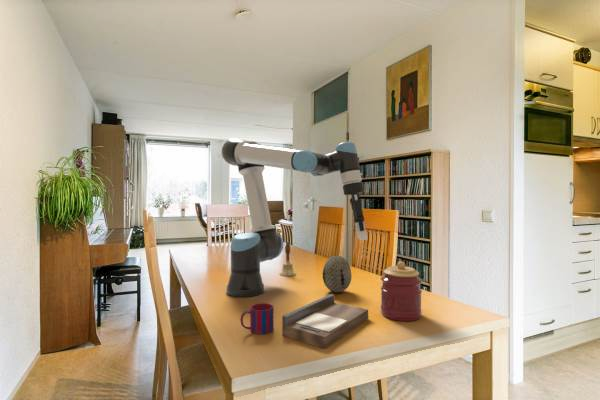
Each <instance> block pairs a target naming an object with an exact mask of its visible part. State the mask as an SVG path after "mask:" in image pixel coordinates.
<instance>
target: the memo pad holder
mask: <svg viewBox="0 0 600 400" xmlns="http://www.w3.org/2000/svg"><path fill="white" fill-rule="evenodd" d="M281 318H282V319H281V320H282V321H281V322H282V324H281V325H282V327H281V331H282V337H283V336H284V337H287V338H290V339H293V340H296V341H298V342H303V343H306V344H309V345H311V346H315V347H318V348H322V349H327V348H328V347H329V346H331V345H333V344H334V343H335V342H337V341H338V340H340V339H341V338H342V337H344V336H345V335H347V334H349V333H350V332H351V331H352V330H354V329H356V328H357V327H358V326H360V325H361V324H363V323H364V322H366V321H367V320H369V309H367V308H363V307H359V306H353V305H349V304H345V303H340V302H335V294H333V293H330V294H328V295H327V294H326V296H323V297H320V298H319V299H317V300H314V301H312V302H310V303H307V304H306V305H305V304H304V305H303V306H301V307H298V308H297V309H294V310H292V311H290V312H288V313H285V314H283V315H282V317H281Z"/></svg>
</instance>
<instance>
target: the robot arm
mask: <svg viewBox="0 0 600 400" xmlns="http://www.w3.org/2000/svg"><path fill="white" fill-rule="evenodd" d="M221 156H222V159H223V160H224V161H225V162H226V163H227V164H229V165H232V166H235V167H236V166H237V169H238V173H239V174H240V175H241V176H242V177H243V182H244V189H245V193H246V194H245V195H246V200H247V205H248V210H249V216H250V223H251V226H252V228H251V230H250V231H249V232H245V233H243V232H242V233H241V232H240V233H239V234H236V235H233V237H232V238H231V239H230V276H229V278H228V279H229V280H228V283H227V285H226V294H227V295H229V296H232V297H236V298H237V297H238V298H245V297H246V298H247V297H248V298H249V297H255V296H259V295H261V294H263V293H264V292H265V285H264V283H263V279H262V275H261V263H263V262H266V261H272V260H273V259H276V258H278V257H279V256H280V255H281V254H282V252H283V250H284V246H285V245H284V240H283V237H282V236H281V235H280V234H279V233H277V227H275V225H273V224H272V220H271V215H270V209H269V204H268V198H267V194H266V193H267V192H266V187H265V182H264V177H263V171H264V170H265V167H270V168H273V167H274V168H277V169H279V168H280V169H285V170H292V171H298V172H302V173H310V174H311V175H312V176H313V177H319V176H320V177H323V176H325V175H328V174H331V173H335V172H339V173H340V179H341V185H342V189H343V195H344V196H351V197H350V199H349V202H350V205H351V210H352V215H353V220H354V226H355V230H356V231H355V232H356V237H357V240H359V242H363V241H367V240H368V236H367V230H366V223H365V216H364V212H363V208H362V207H363V205H362V198H361V197H360V194H362V193H363V192H365V190H364V189H365V188H364V184H363V182H362V181H363V180H362V179H363V178H362V176H363V173H362V172H361V168H360V162H359V156H358V151H357V147H356V144H355V143H354V142H352V141H346V142H341V143H339V144H337V145H336V146H335V151H334V152H333V151H332V152H330V153H326V154H322V153H319V152H313V151H310V150H307V149H305V150H304V149H301V150H299V149H291V148H283V147H277V146H276V147H275V146H267V145H262V144H260V143H258V142H256V141H252V140H251V141H250V140H246V139H245V140H243V139H240V138H237V137H236V138H230V139H228V140H226V141H225V142H224V144H223V145H222V148H221Z"/></svg>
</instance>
